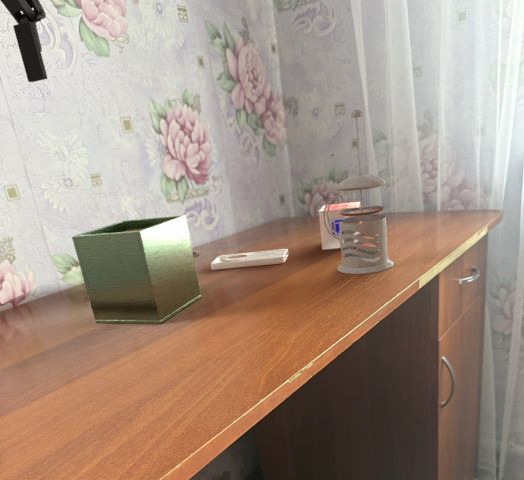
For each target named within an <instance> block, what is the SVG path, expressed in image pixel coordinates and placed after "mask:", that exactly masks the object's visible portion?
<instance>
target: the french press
mask: <svg viewBox="0 0 524 480" xmlns="http://www.w3.org/2000/svg"><path fill="white" fill-rule="evenodd" d="M349 116H350V119H355V127H356V143H357V144H356V145H357V146H356V147H357V157H358V158H357V161H358V173H357V174H356V175H352V176H350V177H348V178H346V179H344V180H342V181H341V182H340V183H338V184H337V186H335V189H336V191H338V192H353V191H359V193H360V207H355V208H354V207H353V208H352V209H351V208H348V209H344V210H342V211H341V212H340V213H341V215H343V216H351V217H349V218H345V219H343V220H342V223H341V221H339V224H340V235H339V234H337V233H336V232H335V231H334V230H333V229H332V227H331V225H330V221H329V207H330V205H332V203H333V201H334V200H335V199H336V202H337V203H336V204H341V203H343V195H341V194H337V195H334V196H332V197H331V198H330V199H329V200H327V202H326V203H325V205H326V206H325V209H324V213H323V217H324V224H325V227H326V229H327V231H328V233H329V234H330V235H332V234H331V233H330V232H329V230H328V228H327V226H326V222H325V210H326V208H327V205H329V206H328V210H327V218H328V223H329V226H330V228H331V230H332V231H333V232H334V233H335V234H336V235H338V236H340V238H341V239H339V238H337V237H335V236H333V235H332V236H333V237H335V238H336V239H338V240H339V241H340V246H341V248H340V257H341V263H340V265H339V266H338V267H337V268H336V270H337V271H338V272H340V273H343V274H351V275H362V274H373V273H378V272H379V273H380V272H382V271H386V270H389V269H390V268H392V267H394V262H393V260H391V259H390V258H389V257H388V238H387V237H388V233H387V217H386V215H385V214H378V213H381V212H383V210H384V208H385V206H383V205H377V204H375V205H374V204H373V205H368V204H367V205H366V206H365V205H363V194H362V193H363V191H362V190H370V189H371V190H372V189H376V188H381V187H384V186H385V185H386V180H385V179H383V178H381V177H380V176H376V175H373V174H366V173H365V174H364V173H362V172H361V159H360V142H359V123H358V119H359V118H362V117H363V111H362V110H360V109H353V110H352V111H351V112H350V114H349ZM339 197H340V201H339ZM352 216H354V217H352ZM359 222H361V223H359ZM342 232H343V236H342ZM355 232H359V233H360V234H357V235H353V233H355ZM377 234H378V235H377ZM365 236H366V237H371V238H365ZM342 240H343V241H344V243H343V242H342ZM354 240H359V241H358V242H356V243H355V242H354ZM360 244H361V245H360ZM363 244H372V245H373V246H370V245H363ZM343 247H344V248H343ZM355 248H356V249H355Z"/></svg>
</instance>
